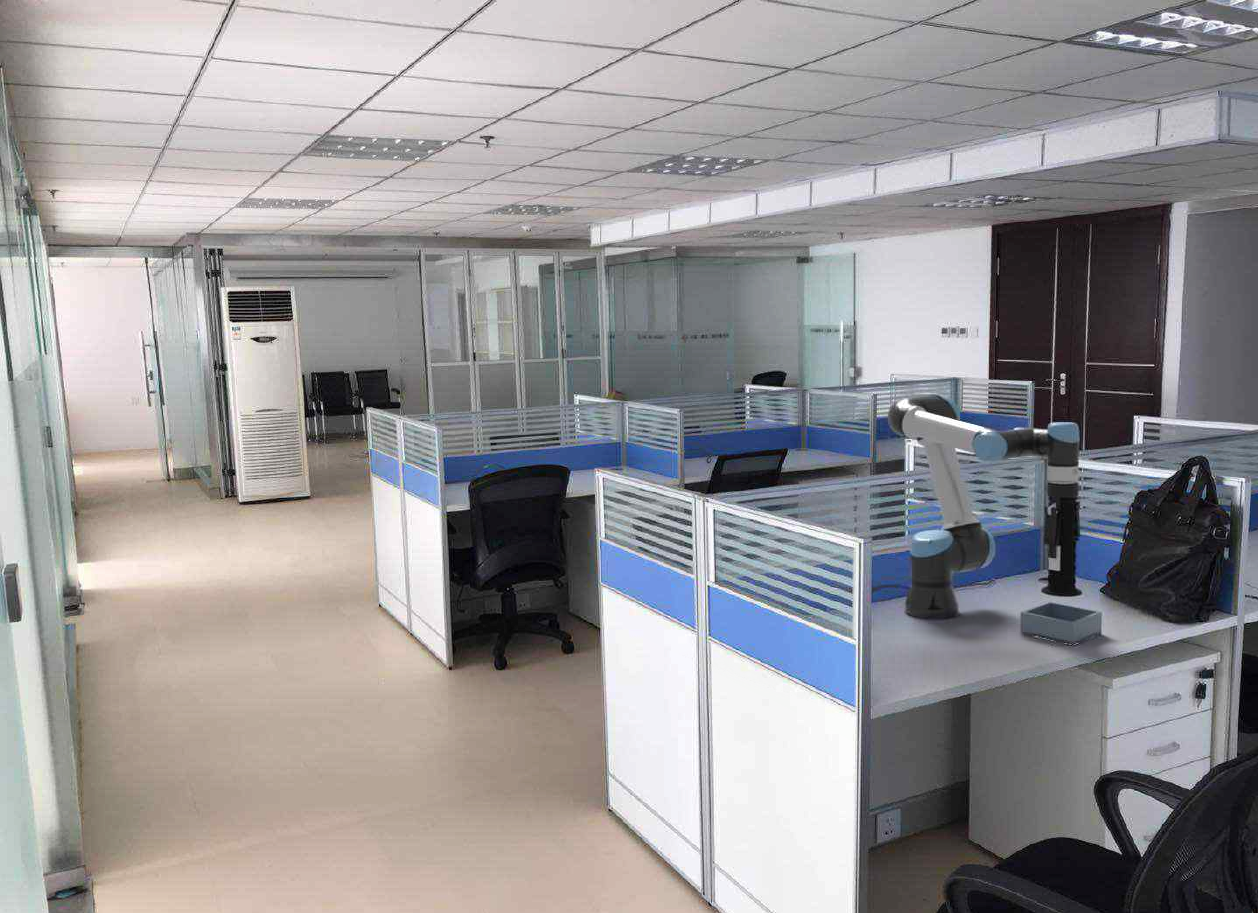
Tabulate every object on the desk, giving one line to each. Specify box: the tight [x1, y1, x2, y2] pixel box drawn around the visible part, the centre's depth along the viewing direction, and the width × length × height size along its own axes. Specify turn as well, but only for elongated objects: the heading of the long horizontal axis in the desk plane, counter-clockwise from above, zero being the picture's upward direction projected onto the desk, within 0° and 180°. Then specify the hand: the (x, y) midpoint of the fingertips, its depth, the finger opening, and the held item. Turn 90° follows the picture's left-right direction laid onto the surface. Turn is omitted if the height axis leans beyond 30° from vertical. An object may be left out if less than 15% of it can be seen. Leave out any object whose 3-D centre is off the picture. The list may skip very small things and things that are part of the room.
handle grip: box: [1040, 496, 1083, 598], centre depth 256 cm, size 10×26×10 cm
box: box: [1019, 601, 1103, 646], centre depth 258 cm, size 15×15×6 cm
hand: (1061, 567), depth 256 cm, fingers closed on handle grip, 7 cm apart
